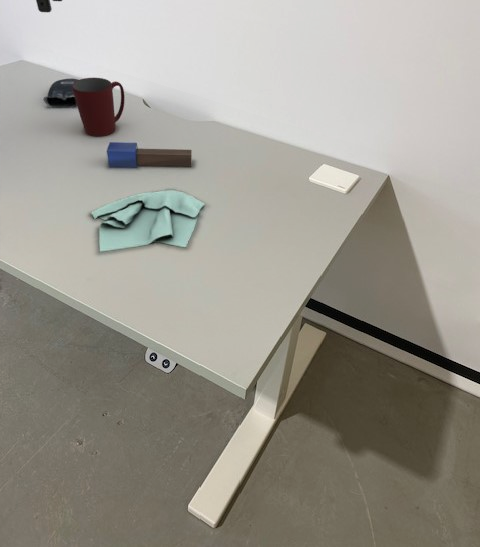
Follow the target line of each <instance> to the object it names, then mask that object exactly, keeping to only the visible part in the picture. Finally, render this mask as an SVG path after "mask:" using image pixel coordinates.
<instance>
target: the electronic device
mask: <svg viewBox="0 0 480 547" xmlns="http://www.w3.org/2000/svg"><path fill="white" fill-rule="evenodd" d="M77 80H79V78H73V77H72V78H61V79H58V80H55V81H54V82H53V83H52V84H51V85H50V87H49V89H48V92H47V95H46V96H44V97H43V102H44V103H45V105H46V106H47V108H74V107H77V104H76V100H75V97H74V93H73V89H72V84H73V83H74V82H75V81H77Z"/></svg>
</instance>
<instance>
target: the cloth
mask: <svg viewBox="0 0 480 547" xmlns="http://www.w3.org/2000/svg"><path fill="white" fill-rule="evenodd" d="M205 205H206V204H205V203H204V202H203V201H201V200H199V199H197V197H194V196H192V195H190V194H188V193H185V192H183V191H178V190H176V189H167V190H159V191H156V192H155V191H152V192H142V193H138V194H132V195H130V196H128V197H126V198H121V199H118V200H116V201H114V202H110V203H107V204H104V205H102V206H101V207H100V208H97V209H95V210H93V211H91V215H92V217H93V218H94V219H95V220H96V219H97V218H99V219H101V220H103V222H101V223H100V224H99V231H98V232H99V238H98V239H99V242H98V243H99V253H103V252H109V251H116V250H124V249H131V248H136V247H137V248H139V247H143V246H149V245H151V244H152V243H153V242H155V243H160V244H166V245H170V246H174V247H175V246H176V247H179V248H183V249H184V248H187V246H188V243H189V242H190V239H191V237H192V234H193V232H194V230H195V227H196V225H197V221H198V220H199V219H198V218H199V213H200V210H201V209H202V208H203V207H204V206H205Z"/></svg>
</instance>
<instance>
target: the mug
mask: <svg viewBox="0 0 480 547" xmlns="http://www.w3.org/2000/svg"><path fill="white" fill-rule="evenodd" d="M115 87H119V89H120V90H119V91H120V104H119V108H118V111H117V114H115V104H114V103H115V102H114V92H113V90H114V88H115ZM72 89H73V93H74V97H75V100H76V107H77V111H78V114H79V116H80V121H81V123H82V126H83V129H84V132H85V134H87V135H88V136H91V137H106V136H109V135H111V134H113V133H114V132H116V123H117V122H118V121H119V120H120V118H121V117H122V114H123V112H124V109H125V90H124V86H123V85H122V84H121V83H120V82H119V81H112V82H111V81H110V80H108V79H107V78H103V77H84V78H79V79H78V80H77V81H75V82H74V83H73V84H72Z"/></svg>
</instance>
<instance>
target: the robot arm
mask: <svg viewBox="0 0 480 547" xmlns="http://www.w3.org/2000/svg"><path fill="white" fill-rule="evenodd" d="M35 1H36V2H35V3H36V6H37V10H38V11H39V12H40V13H50V12H52V10H53V8H52V4H51V0H35ZM62 1H63V0H52V2H62Z"/></svg>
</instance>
